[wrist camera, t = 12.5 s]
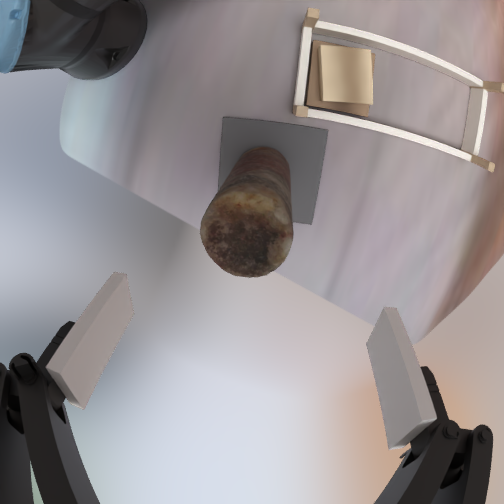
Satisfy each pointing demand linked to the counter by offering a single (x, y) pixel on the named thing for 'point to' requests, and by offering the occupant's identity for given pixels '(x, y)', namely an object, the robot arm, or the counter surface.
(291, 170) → the mat
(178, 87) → the counter surface
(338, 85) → the offcut upper
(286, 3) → the counter surface
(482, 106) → the rack
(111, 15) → the robot arm
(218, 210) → the rusty brown cylinder
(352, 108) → the offcut lower
